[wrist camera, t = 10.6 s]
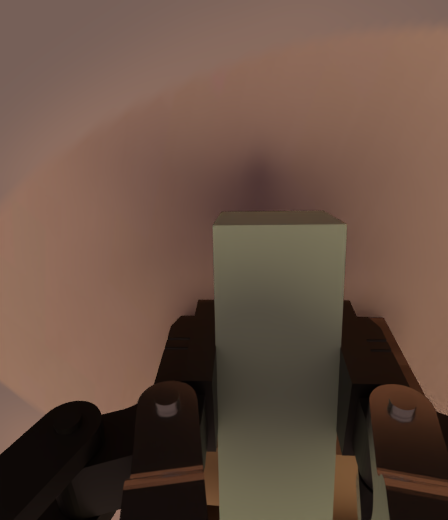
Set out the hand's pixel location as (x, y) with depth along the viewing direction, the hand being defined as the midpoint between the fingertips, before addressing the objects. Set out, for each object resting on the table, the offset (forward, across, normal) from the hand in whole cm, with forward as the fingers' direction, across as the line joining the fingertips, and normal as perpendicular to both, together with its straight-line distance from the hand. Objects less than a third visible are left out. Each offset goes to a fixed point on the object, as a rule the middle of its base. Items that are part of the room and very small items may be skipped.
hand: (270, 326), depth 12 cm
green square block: (-3, 0, +6) cm, 7 cm away
